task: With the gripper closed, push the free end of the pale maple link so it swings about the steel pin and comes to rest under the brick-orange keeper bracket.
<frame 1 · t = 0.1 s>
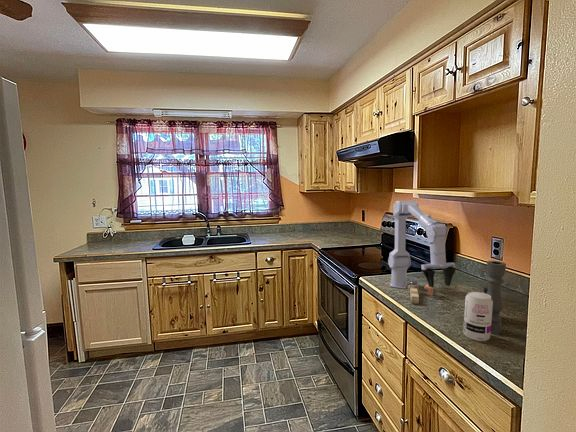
hand: (439, 286, 133), 10 cm above the worktop, tool pointing down, fingers open, 7 cm apart
supplement bottle: (488, 317, 128), on the worktop
pintle: (413, 293, 155), on the worktop
supplement can: (476, 336, 113), on the worktop
candle holder: (491, 330, 118), on the worktop
keeper: (429, 290, 151), on the worktop
link: (413, 293, 149), point 2 cm above the worktop, hinge at 0.0°
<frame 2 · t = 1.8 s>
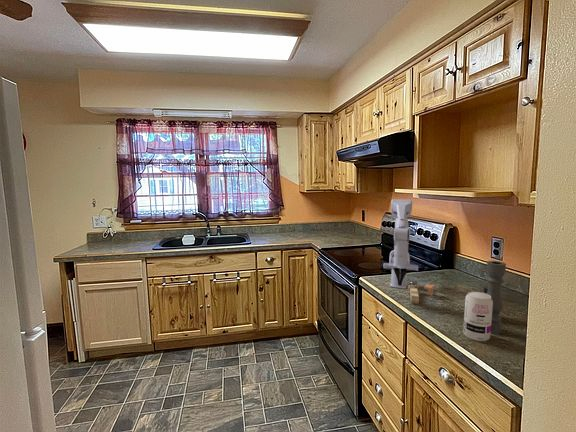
hand: (399, 284, 144), 8 cm above the worktop, tool pointing down, fingers closed
nothing on the worktop moved.
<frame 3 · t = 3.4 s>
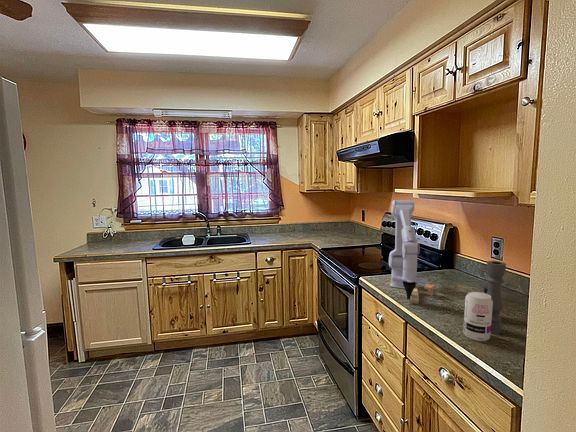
hand: (408, 298, 144), 2 cm above the worktop, tool pointing down, fingers closed
link: (413, 293, 149), point 2 cm above the worktop, hinge at 0.0°, touching gripper
everything else where it was.
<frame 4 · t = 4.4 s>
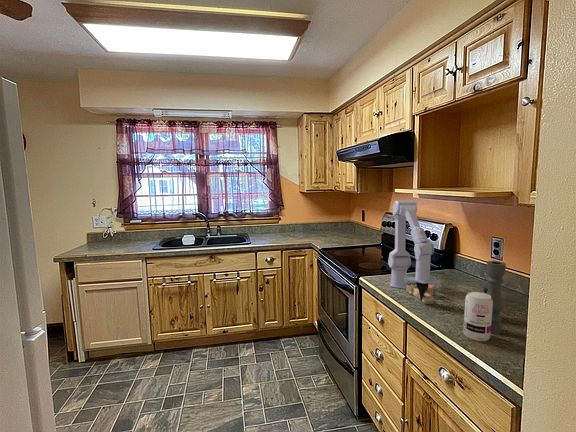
hand: (421, 299, 143), 2 cm above the worktop, tool pointing down, fingers closed
link: (419, 293, 149), point 2 cm above the worktop, hinge at 26.4°, touching gripper
everything else where it was.
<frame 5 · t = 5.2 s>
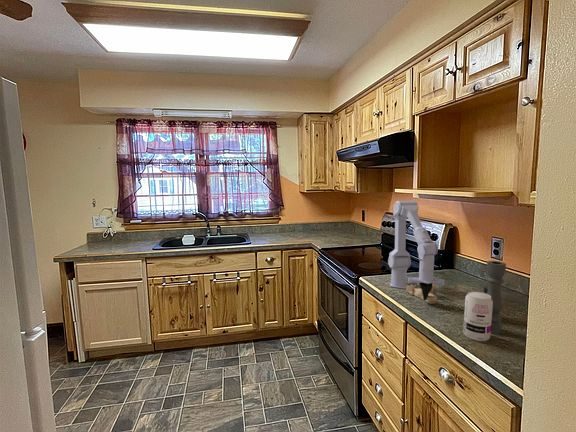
hand: (424, 299, 142), 2 cm above the worktop, tool pointing down, fingers closed
link: (421, 293, 149), point 2 cm above the worktop, hinge at 34.2°, touching gripper
everything else where it was.
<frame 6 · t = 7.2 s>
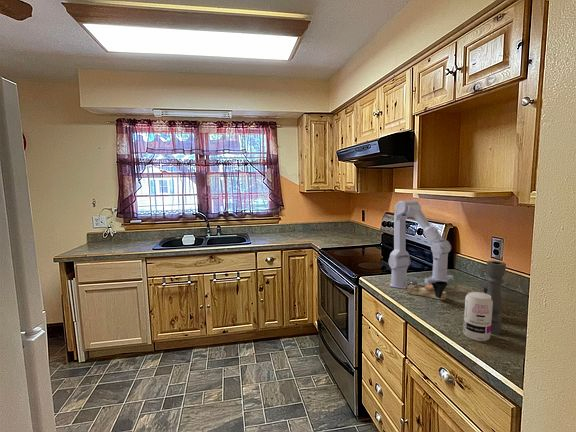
hand: (438, 297, 145), 2 cm above the worktop, tool pointing down, fingers closed
link: (426, 292, 151), point 2 cm above the worktop, hinge at 70.3°, touching gripper
everything else where it was.
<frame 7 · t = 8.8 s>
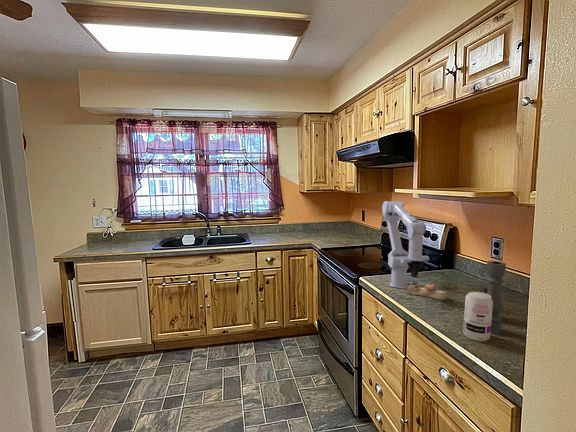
hand: (414, 276, 150), 9 cm above the worktop, tool pointing down, fingers closed
link: (426, 292, 151), point 2 cm above the worktop, hinge at 70.3°
everything else where it was.
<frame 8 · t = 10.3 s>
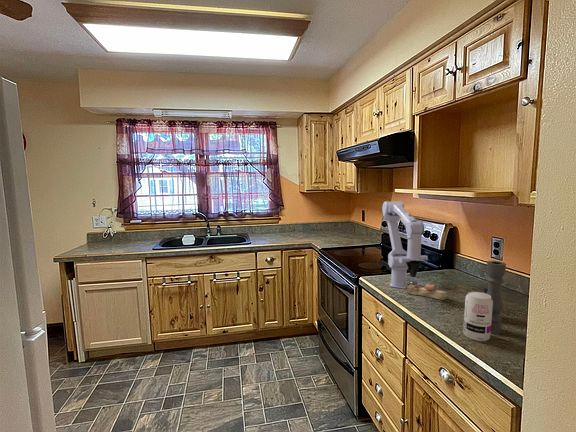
hand: (412, 276, 150), 9 cm above the worktop, tool pointing down, fingers closed
nothing on the worktop moved.
at the end: link at +70° (first picture: +0°); the gripper is holding nothing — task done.
